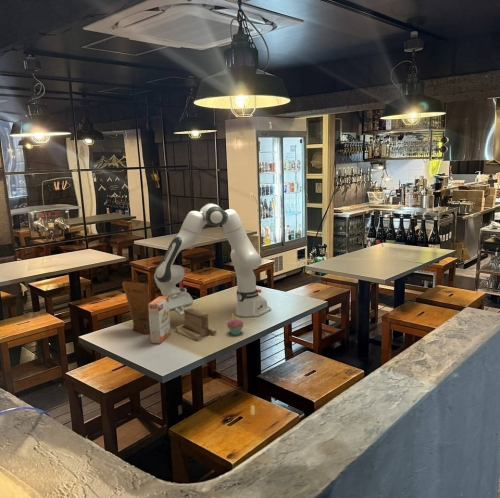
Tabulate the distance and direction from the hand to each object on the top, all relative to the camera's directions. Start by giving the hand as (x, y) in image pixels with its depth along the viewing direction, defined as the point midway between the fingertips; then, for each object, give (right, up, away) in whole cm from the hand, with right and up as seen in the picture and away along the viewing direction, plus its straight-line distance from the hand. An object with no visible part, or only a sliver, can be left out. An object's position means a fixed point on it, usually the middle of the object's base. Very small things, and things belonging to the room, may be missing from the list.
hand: (182, 315), depth 249 cm
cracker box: (-9, -10, -13) cm, 19 cm away
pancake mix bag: (-22, -9, -2) cm, 24 cm away
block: (+9, -9, -8) cm, 15 cm away
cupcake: (+30, -8, -10) cm, 32 cm away
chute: (+8, -8, -7) cm, 14 cm away
